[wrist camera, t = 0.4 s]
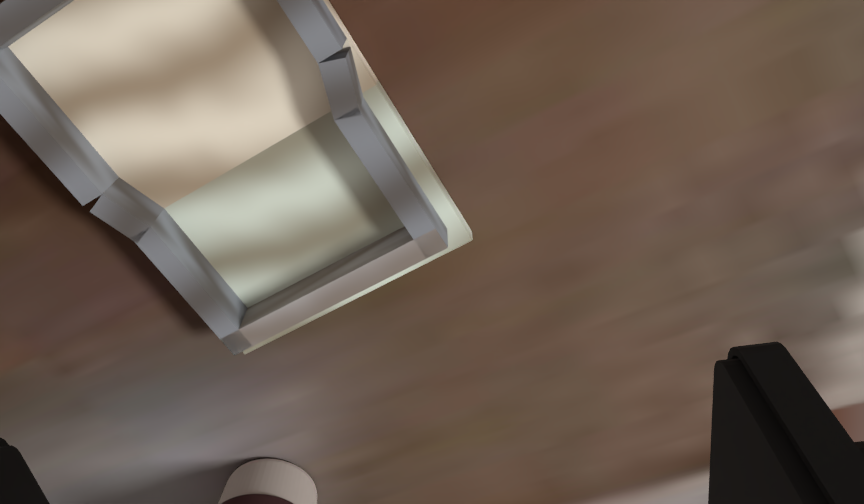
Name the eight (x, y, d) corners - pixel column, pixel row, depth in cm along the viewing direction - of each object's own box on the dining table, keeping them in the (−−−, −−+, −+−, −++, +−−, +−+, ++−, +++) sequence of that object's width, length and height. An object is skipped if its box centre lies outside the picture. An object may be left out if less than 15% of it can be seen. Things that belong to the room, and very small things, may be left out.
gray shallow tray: (-21, 31, 41) (-60, 47, 37) (234, -151, 36) (215, -152, 33) (248, 344, 51) (236, 377, 48) (471, 231, 47) (474, 259, 43)
